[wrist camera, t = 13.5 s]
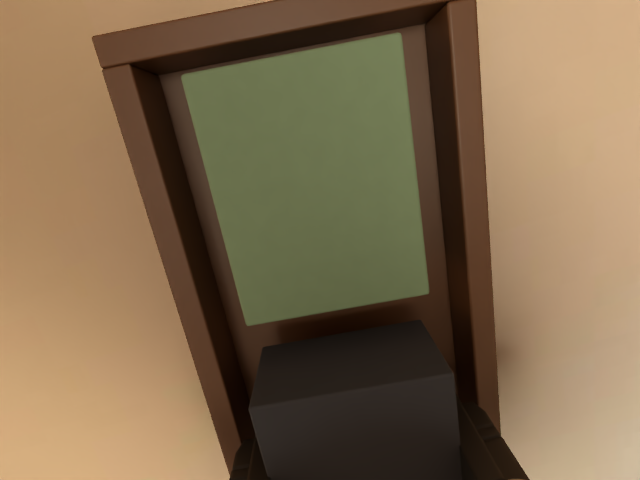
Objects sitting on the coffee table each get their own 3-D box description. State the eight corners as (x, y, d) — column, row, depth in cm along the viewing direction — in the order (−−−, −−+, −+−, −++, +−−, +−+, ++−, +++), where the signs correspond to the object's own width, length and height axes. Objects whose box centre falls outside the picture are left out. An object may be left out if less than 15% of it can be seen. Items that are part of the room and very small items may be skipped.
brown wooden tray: (135, 57, 12) (89, 35, 9) (440, -3, 12) (475, -41, 9) (261, 489, 17) (252, 550, 14) (476, 453, 17) (505, 508, 14)
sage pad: (211, 89, 12) (178, 73, 9) (379, 57, 12) (402, 30, 9) (259, 287, 14) (245, 327, 11) (405, 261, 14) (430, 295, 11)
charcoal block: (262, 346, 12) (247, 408, 10) (421, 318, 12) (455, 373, 9) (301, 500, 14) (299, 591, 11) (439, 477, 14) (472, 564, 11)
